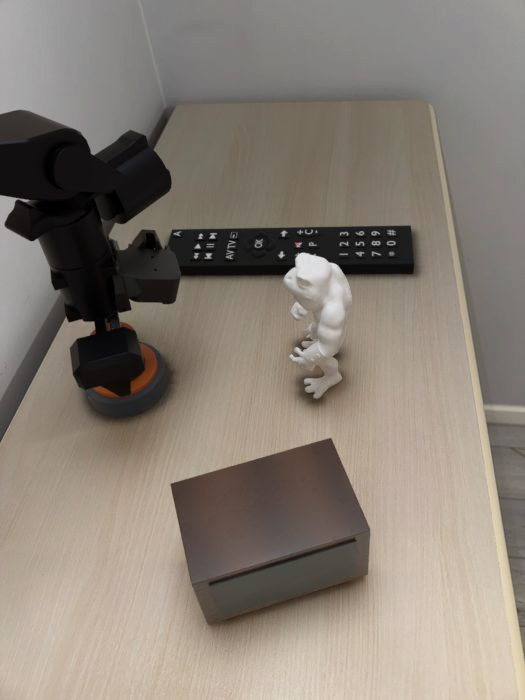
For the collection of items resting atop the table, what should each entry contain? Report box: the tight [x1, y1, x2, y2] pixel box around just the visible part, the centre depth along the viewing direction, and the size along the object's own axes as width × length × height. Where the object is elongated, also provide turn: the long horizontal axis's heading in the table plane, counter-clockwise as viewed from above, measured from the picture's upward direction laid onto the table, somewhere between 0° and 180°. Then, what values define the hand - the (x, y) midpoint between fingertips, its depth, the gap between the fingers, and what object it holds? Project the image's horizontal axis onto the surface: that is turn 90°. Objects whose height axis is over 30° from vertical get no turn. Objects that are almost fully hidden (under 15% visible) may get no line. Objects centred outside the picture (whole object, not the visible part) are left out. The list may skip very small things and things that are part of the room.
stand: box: [84, 340, 169, 419], centre depth 74 cm, size 9×9×2 cm
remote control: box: [166, 224, 415, 276], centre depth 87 cm, size 8×32×2 cm, turn 85°
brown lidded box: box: [170, 437, 371, 626], centre depth 57 cm, size 14×9×9 cm, turn 105°
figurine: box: [282, 253, 353, 400], centre depth 69 cm, size 11×7×15 cm, turn 0°
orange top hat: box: [89, 321, 157, 398], centre depth 71 cm, size 8×8×5 cm
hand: (120, 363), depth 72 cm, fingers open, 9 cm apart
